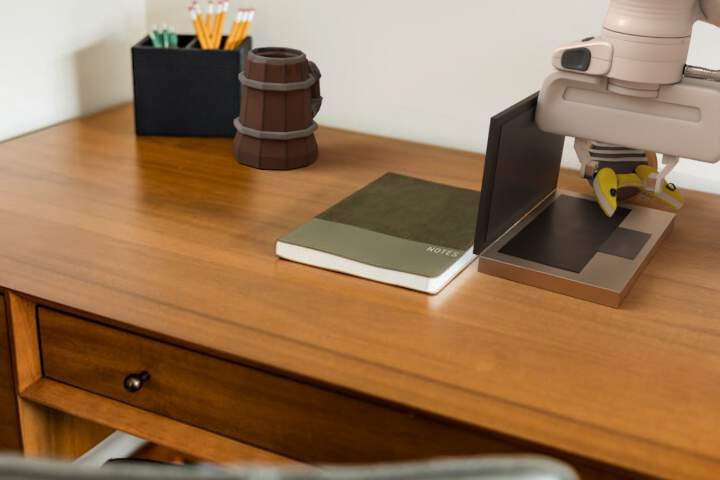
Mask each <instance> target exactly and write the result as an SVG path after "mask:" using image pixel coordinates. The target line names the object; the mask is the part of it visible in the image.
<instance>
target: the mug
mask: <svg viewBox="0 0 720 480" xmlns="http://www.w3.org/2000/svg"><path fill="white" fill-rule="evenodd" d="M244 62H245V63H244V70H243V71H241V72H239V73H238V76H237V79H238V81H239V82H240V83H241V84H242V92H241V99H240V100H241V101H240V108H239V116H237V117H236V118H234V119H233V126H234V127H235V129H236V133H235V136H234V138H233V140H232V155H233V156H234V159H236V162H238V163H239V164H243V165H246V166H250V167H253V168H256V169H260V170H262V169H263V170H278V171H279V170H280V171H281V170H283V171H287V170H291V169H292V170H293V169H297V168H302V167H303V168H304V167H309V166H310V165H311V164H313V162H315V160H317V159H318V158H319V157H318V155H319V153H318V152H319V144H318V142H317V139H316V136H315V133H314V132H316V131H317V130H318V128H319V124H318V123H317V121H316V120H315V117H316V116H317V115H318V113H319V112H320V110H321V107H322V103H323V100H324V97H323V96H322V95H321V81H320V80H321V78H322V73H321V70H320V69H319V67H318V66H317V64H316V63H315V62H314V61H313V60H309V59H308V58H307V54H306V52H304V51H302V50H301V49H298V48H297V49H296V48H293V47H286V46H262V47H254V48H253V49H250V50H249V51H247V55H246V56H245V61H244Z"/></svg>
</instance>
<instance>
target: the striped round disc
mask: <svg viewBox="0 0 720 480" xmlns="http://www.w3.org/2000/svg"><path fill="white" fill-rule="evenodd" d="M587 148H588V151H589V154H590V157H591V159H592V161H596V162H599V164H598V168H597V169H596V170H597V171H599V170H601V169H603V168H611V169H612V170H613V171H614V172H615V175H618V174H632V171H633V169H634V168H636V167H638V166H640V165H647V166H650V167H652V168H654V169H655V170H657V171H659V169H658V168H659V164H658V163H659V162H658V157H657V153H654V152H648V151H643V150H638V149H632V148H627V147H622V146H617V145H611V144H606V143H601V142H595V141H592V143H591V144H590V145H589V146H588V147H587ZM586 180H587V183H588V184H589V186H590V187H591V189H593V180H589V179H586ZM642 193H643V191H642V190H640V189H639V188H637V187H632V186H628V187H620V188H617V190H616V201H619V202H624V203H626V202H630V201H633V200H636V199H637V198H639V197H640V196H642V195H641V194H642Z"/></svg>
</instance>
